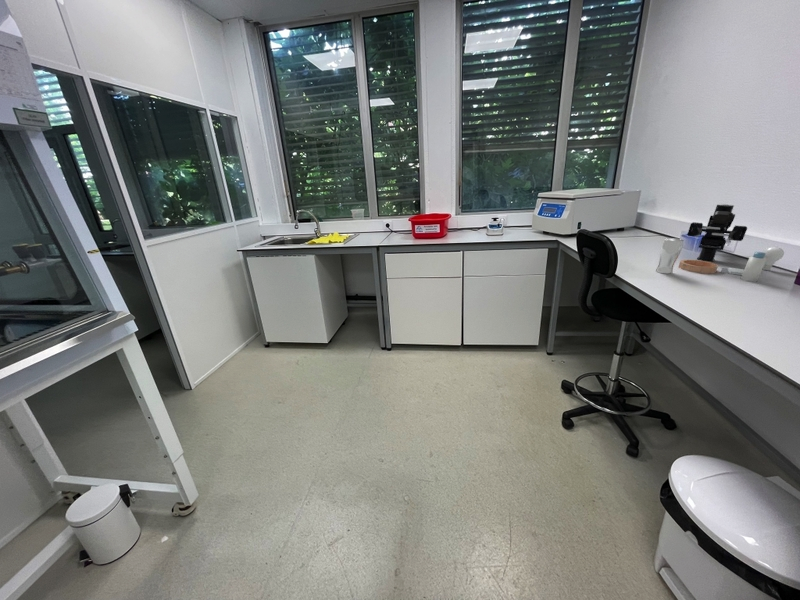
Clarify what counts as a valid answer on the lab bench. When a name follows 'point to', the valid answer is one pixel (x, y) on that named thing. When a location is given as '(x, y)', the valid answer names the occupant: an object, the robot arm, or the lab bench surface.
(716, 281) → the lab bench surface
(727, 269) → the mat
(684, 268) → the bowl
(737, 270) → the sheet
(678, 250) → the beer glass
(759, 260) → the bottle
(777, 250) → the lightbulb
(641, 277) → the lab bench surface
